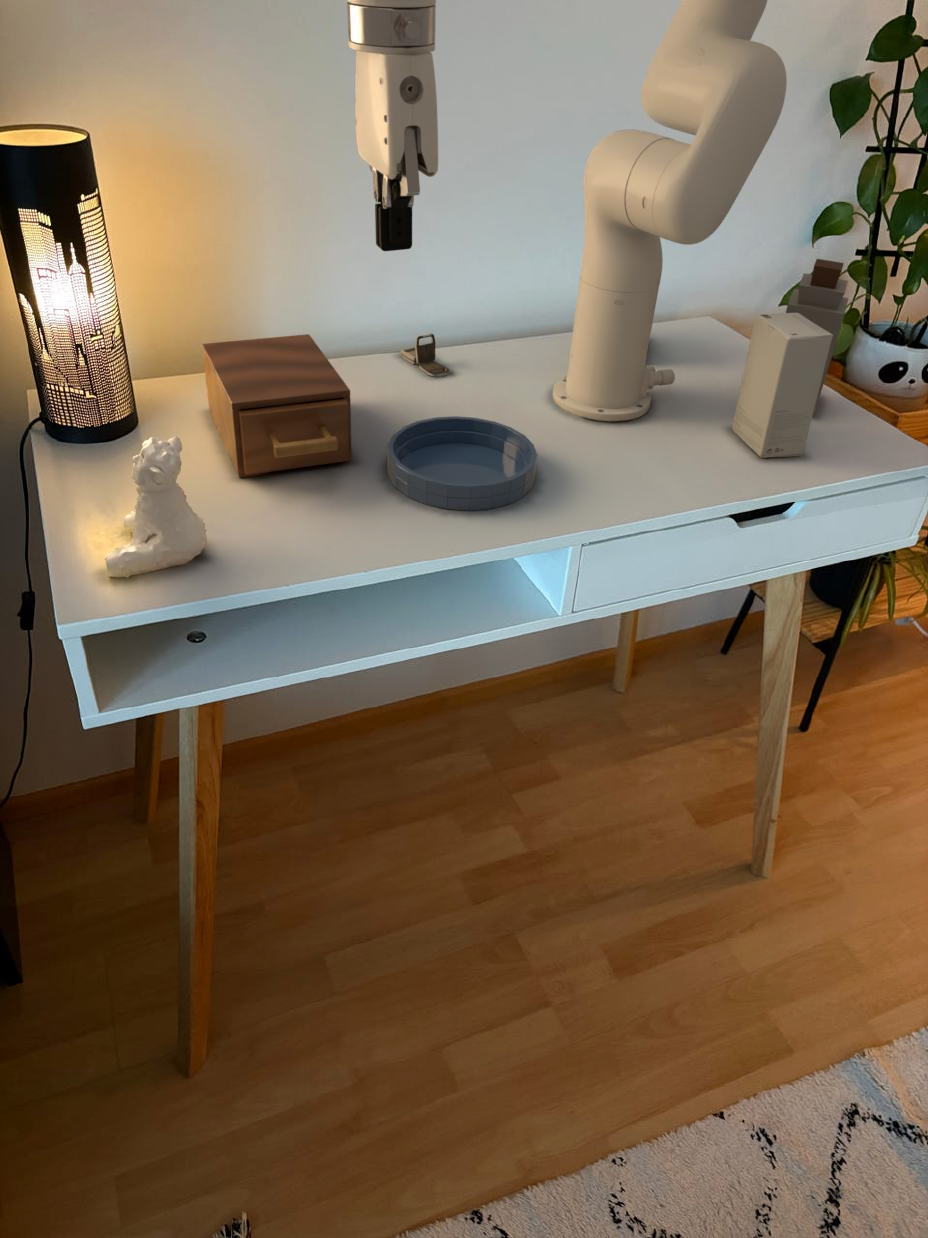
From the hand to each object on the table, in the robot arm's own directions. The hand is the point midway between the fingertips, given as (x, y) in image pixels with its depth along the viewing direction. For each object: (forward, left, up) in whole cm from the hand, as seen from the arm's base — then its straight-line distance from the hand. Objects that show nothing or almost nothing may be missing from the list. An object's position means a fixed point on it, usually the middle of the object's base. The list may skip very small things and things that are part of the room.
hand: (394, 247), depth 93 cm
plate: (-6, +5, -23) cm, 25 cm away
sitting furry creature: (+27, +11, -24) cm, 37 cm away
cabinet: (+11, -9, -23) cm, 27 cm away
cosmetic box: (-45, +8, -24) cm, 52 cm away
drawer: (+11, -5, -22) cm, 25 cm away
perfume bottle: (-56, -1, -24) cm, 61 cm away
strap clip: (-13, -25, -24) cm, 37 cm away
